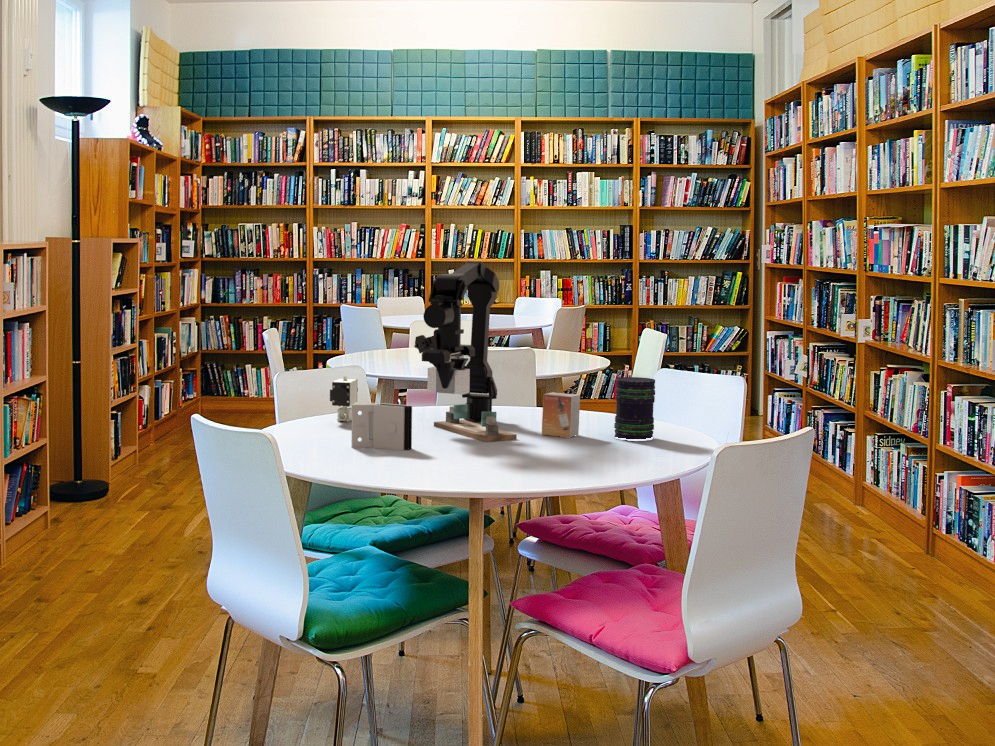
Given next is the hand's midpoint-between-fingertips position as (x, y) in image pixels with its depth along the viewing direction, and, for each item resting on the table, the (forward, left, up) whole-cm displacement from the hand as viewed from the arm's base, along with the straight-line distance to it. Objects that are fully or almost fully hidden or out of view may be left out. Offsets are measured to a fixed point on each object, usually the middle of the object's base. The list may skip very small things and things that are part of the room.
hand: (448, 387), depth 269 cm
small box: (-24, +15, -12) cm, 31 cm away
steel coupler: (0, 0, -1) cm, 1 cm away
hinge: (+24, +12, -12) cm, 29 cm away
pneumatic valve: (+16, -29, -12) cm, 35 cm away
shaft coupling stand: (-6, +2, -12) cm, 13 cm away
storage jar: (-38, +27, -12) cm, 48 cm away
